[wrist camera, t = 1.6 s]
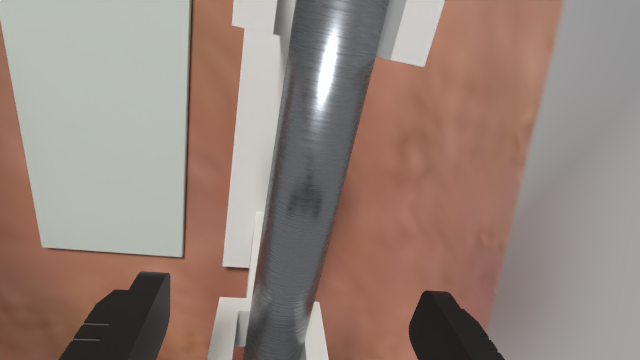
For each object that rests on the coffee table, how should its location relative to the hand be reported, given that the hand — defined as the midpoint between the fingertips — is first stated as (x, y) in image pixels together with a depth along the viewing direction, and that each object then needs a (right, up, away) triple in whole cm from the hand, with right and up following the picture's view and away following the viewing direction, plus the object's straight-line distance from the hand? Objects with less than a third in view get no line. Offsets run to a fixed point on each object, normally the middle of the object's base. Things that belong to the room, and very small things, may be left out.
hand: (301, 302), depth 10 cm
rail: (-1, +3, +6) cm, 7 cm away
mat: (-16, +10, +15) cm, 24 cm away
